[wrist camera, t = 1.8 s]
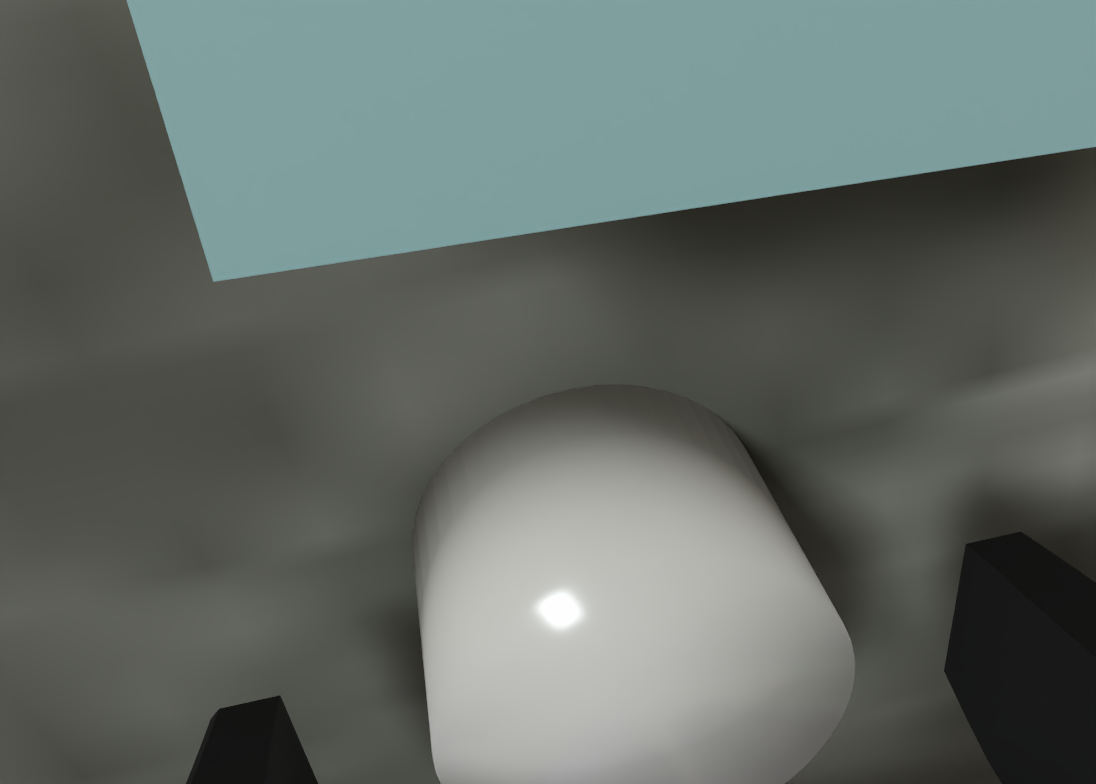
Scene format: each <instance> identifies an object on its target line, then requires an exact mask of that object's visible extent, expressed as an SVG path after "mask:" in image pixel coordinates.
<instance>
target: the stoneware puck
mask: <svg viewBox="0 0 1096 784" xmlns="http://www.w3.org/2000/svg"><path fill="white" fill-rule="evenodd" d="M413 561H414V571H415V581H416V592H417V602H418V612H419V623H420V633H421V643H422V654H423V664H424V675H425V685H426V695H427V706H428V716H429V726H430V737H431V747H432V756H433V761H434V766H435V771H436V774H437V776H438V778H439V781H440V783H441V784H785V783H786V782H788V781H789V780H790V779H792V778H793V777H794V776H795V775H796V774H797V773H798V772H799V771H800V770H802V769H803V768H804V767H805V766H806V765H807V764H808V763H809V762H810V761H811V760H812V759H813V758H814V756H815V755H816V754H817V753H818V752H819V751H820V750H821V749H822V748H823V746H824V745H825V744H826V742H827V741H828V739H829V738H830V737H831V735H832V734H833V732H834V731H835V730H836V728H837V726H838V724H839V722H840V720H841V719H842V717H843V715H844V713H845V711H846V708H847V705H848V702H849V700H850V697H851V694H852V689H853V684H854V678H855V656H854V652H853V647H852V642H851V639H850V637H849V635H848V632H847V630H846V628H845V626H844V624H843V622H842V620H841V618H840V616H839V615H838V613H837V611H836V609H835V608H834V606H833V604H832V602H831V600H830V599H829V597H828V595H827V593H826V592H825V590H824V588H823V586H822V584H821V583H820V581H819V579H818V577H817V575H816V574H815V572H814V570H813V568H812V567H811V565H810V563H809V561H808V559H807V558H806V556H805V554H804V552H803V551H802V549H801V547H800V545H799V543H798V542H797V540H796V538H795V536H794V534H793V533H792V531H791V529H790V527H789V526H788V524H787V522H786V520H785V518H784V517H783V515H782V513H781V511H780V509H779V508H778V506H777V504H776V502H775V501H774V499H773V497H772V495H771V493H770V492H769V490H768V488H767V486H766V485H765V483H764V481H763V479H762V477H761V476H760V474H759V472H758V470H757V468H756V467H755V465H754V463H753V461H752V460H751V458H750V456H749V454H748V452H747V451H746V449H745V447H744V446H743V444H742V443H741V441H740V440H739V438H738V437H737V436H736V434H735V433H734V432H733V431H732V430H731V429H730V428H729V427H728V426H727V425H726V424H725V423H724V422H723V421H722V420H721V419H720V418H719V417H718V416H716V415H715V414H713V413H712V412H711V411H709V410H708V409H706V408H705V407H703V406H701V405H699V404H697V403H695V402H693V401H691V400H689V399H687V398H685V397H682V396H679V395H676V394H673V393H670V392H667V391H663V390H659V389H654V388H649V387H644V386H632V385H595V386H588V387H581V388H574V389H569V390H565V391H561V392H557V393H553V394H549V395H546V396H543V397H540V398H538V399H535V400H532V401H530V402H527V403H524V404H522V405H520V406H518V407H516V408H514V409H512V410H510V411H508V412H506V413H504V414H502V415H500V416H498V417H497V418H495V419H494V420H492V421H490V422H489V423H487V424H486V425H484V426H483V427H481V428H480V429H478V430H477V431H476V432H475V433H473V434H472V435H471V436H470V437H469V438H467V439H466V440H465V441H464V442H463V443H461V444H460V445H459V446H458V447H457V448H456V450H455V451H454V452H453V453H452V454H451V455H450V456H449V457H448V458H447V459H446V460H445V461H444V463H443V464H442V465H441V467H440V468H439V470H438V471H437V472H436V474H435V475H434V476H433V478H432V479H431V481H430V483H429V485H428V487H427V489H426V491H425V493H424V495H423V496H422V499H421V502H420V505H419V508H418V510H417V513H416V517H415V523H414V529H413Z"/></svg>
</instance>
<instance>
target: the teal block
mask: <svg viewBox="0 0 1096 784" xmlns="http://www.w3.org/2000/svg"><path fill="white" fill-rule="evenodd" d="M127 3H128V6H129V9H130V12H131V16H132V19H133V22H134V25H135V29H136V32H137V35H138V38H139V42H140V45H141V48H142V51H143V55H144V58H145V61H146V64H147V68H148V71H149V74H150V77H151V81H152V84H153V87H154V90H155V94H156V97H157V100H158V103H159V107H160V110H161V113H162V116H163V120H164V123H165V126H166V129H167V133H168V136H169V139H170V142H171V146H172V149H173V152H174V155H175V159H176V162H177V165H178V168H179V172H180V175H181V178H182V181H183V184H184V188H185V191H186V194H187V197H188V201H189V204H190V207H191V210H192V214H193V217H194V220H195V223H196V227H197V230H198V233H199V236H200V240H201V243H202V246H203V249H204V253H205V256H206V259H207V262H208V266H209V269H210V272H211V275H212V279H213V282H215V281H221V280H228V279H235V278H241V277H248V276H254V275H261V274H267V273H274V272H280V271H287V270H293V269H300V268H306V267H313V266H320V265H326V264H333V263H339V262H346V261H352V260H359V259H365V258H372V257H378V256H385V255H391V254H398V253H404V252H411V251H418V250H424V249H431V248H437V247H444V246H450V245H457V244H463V243H470V242H476V241H483V240H489V239H496V238H503V237H509V236H516V235H522V234H529V233H535V232H542V231H548V230H555V229H561V228H568V227H574V226H581V225H588V224H594V223H601V222H607V221H614V220H620V219H627V218H633V217H640V216H646V215H653V214H659V213H666V212H673V211H679V210H686V209H692V208H699V207H705V206H712V205H718V204H725V203H731V202H738V201H744V200H751V199H758V198H764V197H771V196H777V195H784V194H790V193H797V192H803V191H810V190H816V189H823V188H829V187H836V186H843V185H849V184H856V183H862V182H869V181H875V180H882V179H888V178H895V177H901V176H908V175H914V174H921V173H928V172H934V171H941V170H947V169H954V168H960V167H967V166H973V165H980V164H986V163H993V162H999V161H1006V160H1012V159H1019V158H1026V157H1032V156H1039V155H1045V154H1052V153H1058V152H1065V151H1071V150H1078V149H1084V148H1091V147H1096V0H127Z"/></svg>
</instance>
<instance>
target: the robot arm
mask: <svg viewBox="0 0 1096 784" xmlns="http://www.w3.org/2000/svg"><path fill="white" fill-rule="evenodd" d="M944 672H945V674H946V676H947V678H948V680H949V682H950V684H951V686H952V689H953V691H954V693H955V695H956V697H957V699H958V701H959V703H960V705H961V708H962V710H963V712H964V714H965V716H966V718H967V720H968V722H969V724H970V726H971V728H972V730H973V732H974V734H975V736H976V738H977V740H978V742H979V744H980V746H981V748H982V750H983V752H984V754H985V756H986V758H987V760H988V762H989V763H990V765H991V766H992V768H993V770H994V771H995V773H996V774H997V776H998V778H999V779H1000V781H1001V782H1002V784H1096V583H1095V582H1094V581H1092V580H1091V579H1089V578H1088V577H1087V576H1085V575H1084V574H1082V573H1081V572H1079V571H1078V570H1076V569H1075V568H1073V567H1072V566H1071V565H1069V564H1068V563H1066V562H1065V561H1063V560H1062V559H1060V558H1059V557H1057V556H1056V555H1055V554H1053V553H1052V552H1050V551H1049V550H1047V549H1046V548H1044V547H1043V546H1041V545H1040V544H1038V543H1037V542H1035V541H1034V540H1032V539H1031V538H1029V537H1028V536H1026V535H1025V534H1023V533H1022V532H1018V533H1013V534H1009V535H1004V536H1000V537H995V538H991V539H986V540H982V541H977V542H973V543H968V544H966V547H965V552H964V558H963V564H962V570H961V576H960V582H959V588H958V593H957V599H956V605H955V611H954V617H953V623H952V628H951V634H950V640H949V646H948V652H947V658H946V663H945V669H944ZM186 784H318V783H317V780H316V778H315V776H314V773H313V771H312V769H311V766H310V764H309V762H308V759H307V757H306V755H305V752H304V750H303V748H302V745H301V743H300V741H299V738H298V736H297V734H296V731H295V729H294V727H293V724H292V722H291V720H290V717H289V715H288V713H287V710H286V708H285V706H284V703H283V701H282V699H281V696H276V697H271V698H267V699H262V700H257V701H253V702H248V703H244V704H239V705H235V706H230V707H226V708H221V709H219V710H218V711H217V712H216V713H215V715H214V716H213V717H212V718H211V720H210V723H209V726H208V728H207V731H206V734H205V736H204V739H203V742H202V744H201V747H200V750H199V752H198V755H197V757H196V760H195V762H194V765H193V768H192V770H191V773H190V775H189V778H188V780H187V783H186Z"/></svg>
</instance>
